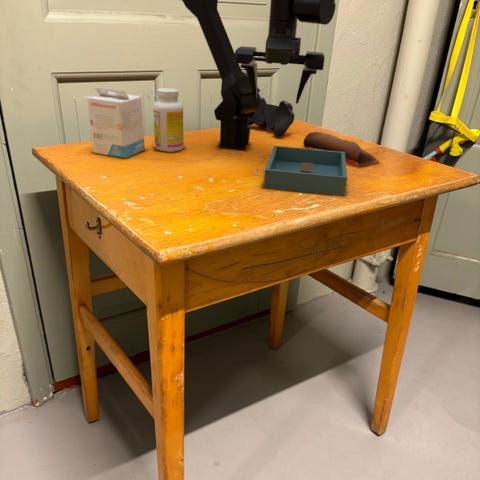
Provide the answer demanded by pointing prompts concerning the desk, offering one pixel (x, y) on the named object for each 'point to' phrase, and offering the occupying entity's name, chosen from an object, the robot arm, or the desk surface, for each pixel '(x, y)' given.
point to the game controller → (273, 117)
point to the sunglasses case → (339, 147)
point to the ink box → (116, 123)
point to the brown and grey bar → (306, 167)
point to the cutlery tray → (290, 178)
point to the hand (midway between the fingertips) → (276, 101)
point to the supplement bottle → (168, 121)
